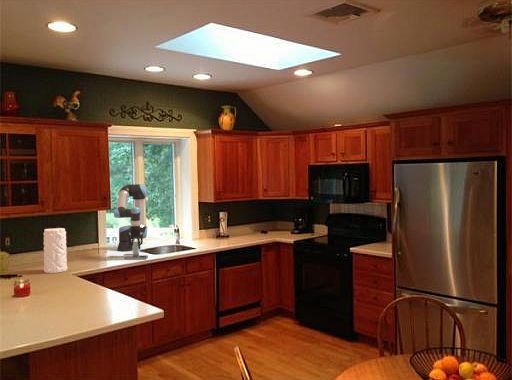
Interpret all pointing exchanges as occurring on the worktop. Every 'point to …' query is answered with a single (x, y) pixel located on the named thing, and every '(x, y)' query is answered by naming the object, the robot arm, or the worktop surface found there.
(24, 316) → the worktop surface
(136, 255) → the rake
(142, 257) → the slot channel
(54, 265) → the paper towel roll
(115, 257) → the tray
